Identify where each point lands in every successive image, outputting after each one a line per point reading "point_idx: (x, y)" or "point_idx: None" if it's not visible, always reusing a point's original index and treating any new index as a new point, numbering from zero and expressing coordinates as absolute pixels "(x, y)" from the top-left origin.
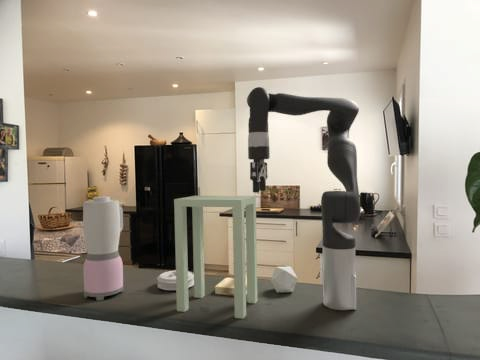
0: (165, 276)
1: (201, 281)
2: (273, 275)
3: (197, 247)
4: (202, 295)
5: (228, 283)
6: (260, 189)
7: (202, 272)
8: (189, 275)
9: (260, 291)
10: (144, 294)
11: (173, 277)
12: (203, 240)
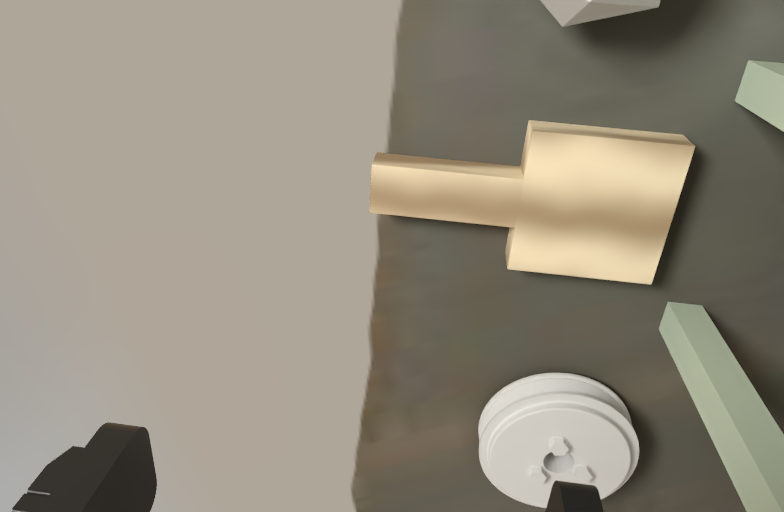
0: None
1: (724, 347)
2: (642, 3)
3: None
4: (694, 308)
5: (604, 237)
6: (144, 501)
7: (726, 369)
8: (569, 413)
9: (602, 70)
10: (654, 490)
11: (601, 459)
12: (774, 494)
